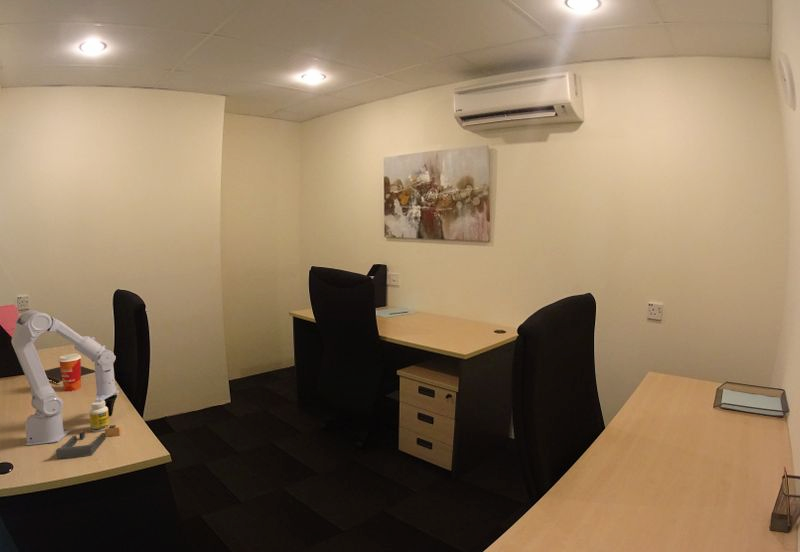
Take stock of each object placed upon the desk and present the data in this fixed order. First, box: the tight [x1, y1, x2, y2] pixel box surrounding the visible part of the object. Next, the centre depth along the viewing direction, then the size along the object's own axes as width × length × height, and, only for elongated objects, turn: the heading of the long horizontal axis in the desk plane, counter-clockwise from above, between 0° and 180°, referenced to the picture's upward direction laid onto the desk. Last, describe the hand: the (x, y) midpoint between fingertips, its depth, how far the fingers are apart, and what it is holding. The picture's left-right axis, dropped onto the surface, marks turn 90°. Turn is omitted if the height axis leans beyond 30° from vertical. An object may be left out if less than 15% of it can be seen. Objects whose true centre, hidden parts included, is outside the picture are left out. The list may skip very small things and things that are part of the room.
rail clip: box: [55, 430, 106, 460], centre depth 146 cm, size 10×14×3 cm, turn 14°
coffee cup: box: [57, 353, 82, 392], centre depth 197 cm, size 8×8×15 cm
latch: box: [104, 424, 122, 437], centre depth 154 cm, size 4×1×3 cm, turn 104°
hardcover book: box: [44, 365, 95, 383], centre depth 215 cm, size 16×23×2 cm
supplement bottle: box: [89, 400, 110, 433], centre depth 158 cm, size 5×5×10 cm
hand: (108, 416), depth 166 cm, fingers closed
